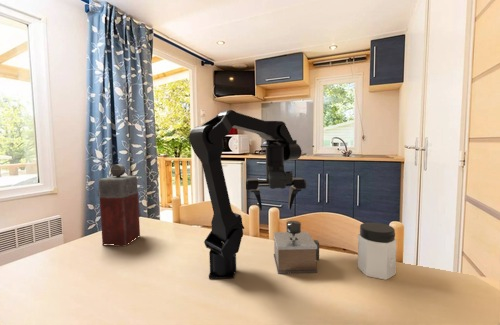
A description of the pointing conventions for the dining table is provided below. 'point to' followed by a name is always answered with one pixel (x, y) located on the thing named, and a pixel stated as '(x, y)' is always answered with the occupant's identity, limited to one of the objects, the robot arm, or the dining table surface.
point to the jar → (377, 250)
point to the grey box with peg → (295, 253)
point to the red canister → (119, 207)
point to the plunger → (293, 228)
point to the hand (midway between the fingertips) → (275, 209)
